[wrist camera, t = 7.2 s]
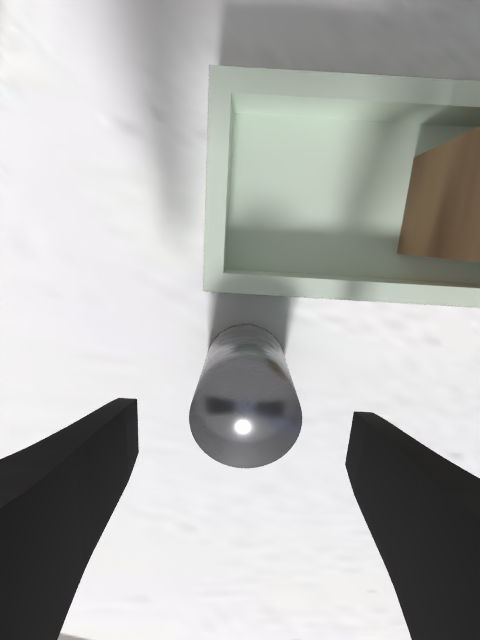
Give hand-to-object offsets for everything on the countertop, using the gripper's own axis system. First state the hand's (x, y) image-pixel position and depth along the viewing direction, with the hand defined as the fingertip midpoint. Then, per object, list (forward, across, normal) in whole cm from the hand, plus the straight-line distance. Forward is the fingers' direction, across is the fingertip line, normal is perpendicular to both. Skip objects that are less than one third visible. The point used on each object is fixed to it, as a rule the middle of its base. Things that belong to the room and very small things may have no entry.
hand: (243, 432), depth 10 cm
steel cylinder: (+6, 0, 0) cm, 6 cm away
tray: (+6, -5, -8) cm, 11 cm away
